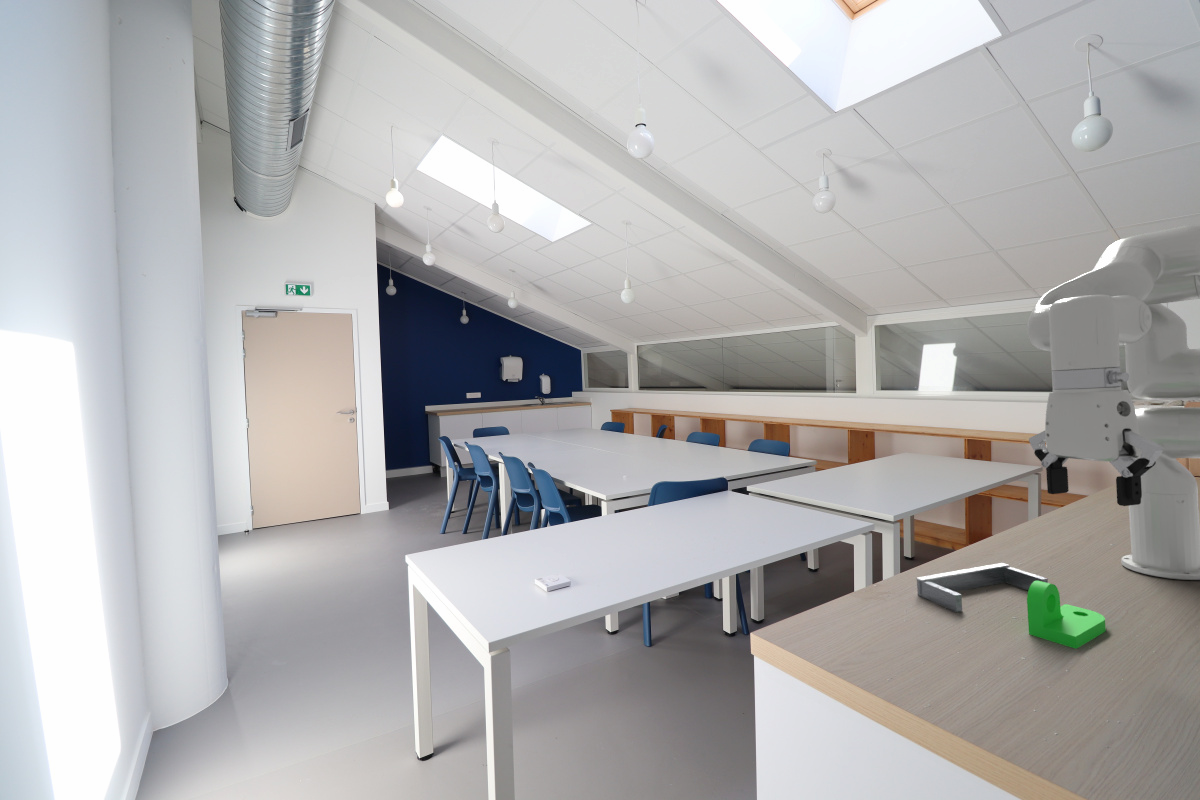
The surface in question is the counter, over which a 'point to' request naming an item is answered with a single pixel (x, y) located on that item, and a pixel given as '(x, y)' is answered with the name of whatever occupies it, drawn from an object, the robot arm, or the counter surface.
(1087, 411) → the robot arm
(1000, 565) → the steel bracket
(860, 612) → the counter surface
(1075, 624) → the mechanical part
